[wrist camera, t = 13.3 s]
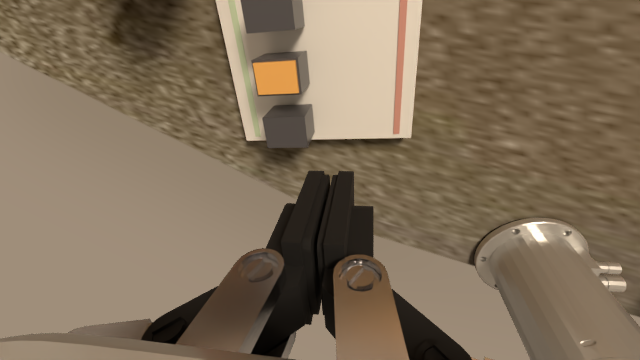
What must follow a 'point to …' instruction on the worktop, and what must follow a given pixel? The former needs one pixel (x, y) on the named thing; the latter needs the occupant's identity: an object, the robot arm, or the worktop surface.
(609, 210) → the worktop surface
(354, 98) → the breaker panel
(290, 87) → the block
